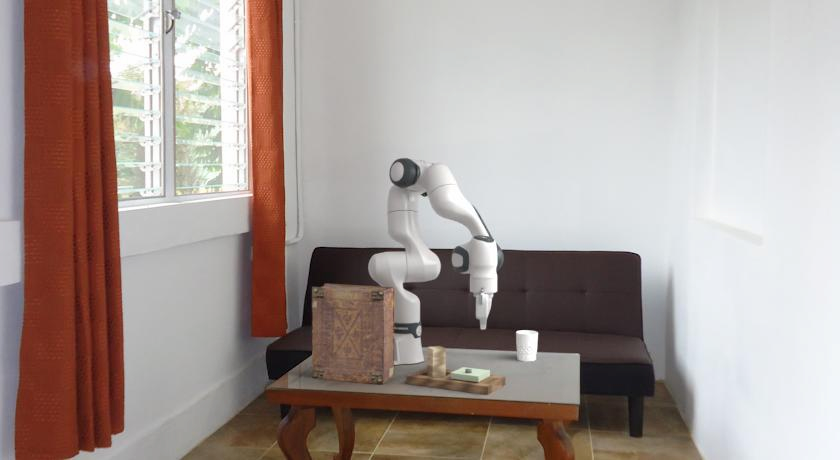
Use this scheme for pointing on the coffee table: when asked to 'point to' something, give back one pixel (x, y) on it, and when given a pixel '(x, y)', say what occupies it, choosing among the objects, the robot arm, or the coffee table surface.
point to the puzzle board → (456, 382)
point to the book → (353, 333)
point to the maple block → (436, 361)
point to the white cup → (526, 345)
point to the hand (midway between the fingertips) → (483, 328)
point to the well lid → (470, 374)
